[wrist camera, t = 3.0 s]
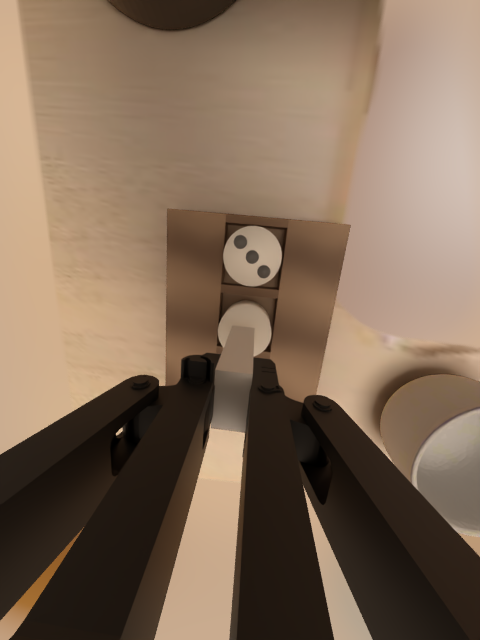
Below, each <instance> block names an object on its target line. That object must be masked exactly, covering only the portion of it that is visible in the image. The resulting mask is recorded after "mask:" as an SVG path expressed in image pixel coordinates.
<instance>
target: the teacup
mask: <svg viewBox="0 0 480 640" xmlns="http://www.w3.org/2000/svg"><path fill="white" fill-rule="evenodd" d="M380 431H381V437H382V440H383V443H384V446H385V448H386V450H387V452H388V454H389V456H390V458H391V459H392V461H393V463H394V464H395V466H396V467H397V468H398V469H399V470H400V472H401V473H402V474H403V475H404V476H405V477H406V478H407V479H408V480H409V481H410V482H411V483H412V484H413V486H414V487H415V488H416V489H417V490H418V491H419V492H420V493H421V494H422V495H423V496H424V497H425V498H426V500H427V501H428V502H429V503H430V504H431V505H432V506H433V507H434V508H435V509H436V510H437V511H438V512H439V514H440V515H441V516H442V517H443V518H444V519H445V520H446V521H447V522H448V523H449V524H450V525H451V526H452V528H453V529H454V530H455V531H456V532H458V533H461V534H464V535H468V536H475V537H480V382H478V381H475V380H473V379H469V378H466V377H462V376H457V375H449V374H437V375H429V376H424V377H421V378H417V379H415V380H413V381H410V382H409V383H407V384H405V385H403V386H402V387H400V388H399V389H398V390H397V391H396V392H395V393H394V394H393V395H392V396H391V397H390V398H389V400H388V401H387V403H386V405H385V407H384V409H383V412H382V415H381V421H380Z"/></svg>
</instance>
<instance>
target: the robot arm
mask: <svg viewBox="0 0 480 640" xmlns="http://www.w3.org/2000/svg"><path fill="white" fill-rule="evenodd" d="M108 1H109V2H110V3H111V4H112V5H114V6H115V7H116V8H117V9H118V10H120V11H121V12H122V13H124V14H125V15H127V16H128V17H130V18H132V19H134V20H136V21H138V22H140V23H143V24H145V25H148V26H152V27H156V28H162V29H182V28H187V27H192V26H195V25H198V24H201V23H203V22H206V21H208V20H210V19H211V18H213V17H215V16H216V15H218V14H220V13H221V12H222V11H224V10H225V9H226V8H227V7H229V6H230V5H231V4H232V3H233V2H234V1H235V0H108ZM254 330H255V328H251V327H242V326H233V325H232V327H231V330H230V333H229V335H228V338H227V340H226V343H225V346H224V348H223V351H222V353H221V354H215V353H205V354H203V355H189V356H186V357H184V358H183V359H181V378H180V380H179V382H178V383H177V384H176V385H170V386H159V380H158V379H157V378H155V377H153V376H149V375H138V376H134V377H131V378H129V379H127V380H125V381H123V382H121V383H120V384H118V385H116V386H115V387H113V388H111V389H110V390H108V391H106V392H105V393H103V394H101V395H100V396H98V397H96V398H95V399H93V400H91V401H90V402H88V403H86V404H85V405H83V406H81V407H80V408H78V409H76V410H74V411H73V412H71V413H69V414H68V415H66V416H64V417H63V418H61V419H59V420H58V421H56V422H54V423H53V424H51V425H49V426H48V427H46V428H44V429H43V430H41V431H40V432H38V433H36V434H34V435H32V436H31V437H29V438H27V439H26V440H25V441H23V442H21V443H19V444H17V445H16V446H14V447H12V448H11V449H9V450H7V451H6V452H4V453H2V454H1V455H0V620H1V619H2V618H3V617H4V616H5V615H6V613H7V612H8V611H9V610H10V609H11V608H12V607H13V606H14V605H15V603H16V602H17V601H18V600H19V599H20V598H21V597H22V595H24V593H25V592H26V591H27V590H28V589H29V588H30V587H31V586H32V584H33V583H34V582H35V581H36V580H37V579H38V578H39V577H40V575H41V574H42V573H43V572H44V571H45V570H46V569H47V568H48V566H49V565H50V564H51V563H52V562H53V561H54V560H55V559H56V558H57V556H58V555H59V554H60V553H61V552H62V551H63V550H64V549H65V547H66V546H67V545H68V544H69V543H70V542H71V541H72V540H73V538H74V537H75V536H76V535H77V534H78V533H79V532H80V530H82V528H83V527H84V526H85V527H84V528H83V530H82V532H81V533H80V535H79V536H78V538H77V539H76V541H75V542H74V544H73V546H72V547H71V549H70V550H69V552H68V553H67V555H66V556H65V558H64V560H63V561H62V563H61V564H60V566H59V567H58V569H57V570H56V572H55V573H54V575H53V576H52V578H51V580H50V581H49V583H48V584H47V586H46V587H45V589H44V590H43V592H42V593H41V595H40V597H39V598H38V600H37V601H36V603H35V604H34V606H33V607H32V609H31V610H30V612H29V614H28V615H27V617H26V618H25V620H24V621H23V623H22V624H21V625H20V627H19V628H18V629H17V631H16V632H15V634H14V635H13V636H12V637H11V638H10V639H9V640H154V638H155V634H156V631H157V627H158V623H159V619H160V616H161V612H162V609H163V605H164V601H165V597H166V593H167V590H168V586H169V583H170V579H171V575H172V571H173V568H174V564H175V560H176V557H177V553H178V549H179V546H180V542H181V538H182V534H183V531H184V527H185V523H186V519H187V516H188V512H189V508H190V505H191V501H192V497H193V494H194V490H195V486H196V483H197V479H198V475H199V472H200V468H201V464H202V461H203V457H204V453H205V449H206V446H207V442H208V438H209V428H210V423H211V428H214V429H222V430H229V431H237V432H244V433H245V440H244V448H243V466H242V479H241V492H240V506H239V519H238V533H237V546H236V559H235V573H234V586H233V600H232V613H231V626H230V639H229V640H334V637H333V632H332V627H331V622H330V617H329V612H328V607H327V602H326V597H325V592H324V587H323V582H322V577H321V572H320V567H319V562H318V558H317V552H316V547H315V542H314V538H313V533H312V528H311V523H310V518H309V513H308V508H307V503H306V498H305V493H304V488H305V490H306V492H307V495H308V497H309V499H310V501H311V503H312V506H313V508H314V510H315V512H316V514H317V517H318V519H319V521H320V523H321V525H322V528H323V530H324V532H325V535H326V537H327V539H328V541H329V543H330V545H331V548H332V550H333V552H334V554H335V557H336V559H337V561H338V563H339V566H340V568H341V570H342V572H343V574H344V577H345V579H346V581H347V583H348V586H349V588H350V590H351V592H352V594H353V597H354V599H355V601H356V603H357V606H358V608H359V610H360V612H361V614H362V617H363V619H364V621H365V623H366V625H367V628H368V630H369V632H370V634H371V637H372V639H373V640H480V557H479V556H478V555H477V554H476V553H475V551H474V550H473V549H472V548H471V547H470V546H469V545H468V544H467V543H466V542H465V541H464V539H463V538H461V536H460V535H459V534H458V533H457V532H456V531H455V530H454V529H453V528H452V526H451V525H450V524H449V523H448V522H447V521H446V520H445V519H444V518H443V517H442V516H441V515H440V514H439V512H438V511H437V510H436V509H435V508H434V507H433V506H432V505H431V504H430V503H429V502H428V501H427V500H426V498H425V497H424V496H423V495H422V494H421V493H420V492H419V491H418V490H417V489H416V488H415V487H414V486H413V484H412V483H411V482H410V481H409V480H408V479H407V478H406V477H405V476H404V475H403V474H402V473H401V472H400V470H399V469H398V468H397V467H396V466H395V465H394V464H393V463H392V462H391V461H390V460H389V459H388V458H387V456H386V455H385V454H384V453H383V452H382V451H381V450H380V449H379V448H378V447H377V446H376V445H375V444H374V442H373V441H372V440H371V439H370V438H369V437H368V436H367V435H366V434H365V433H364V432H363V431H362V430H361V428H360V427H359V426H358V425H357V424H356V423H355V422H354V421H353V420H352V419H351V418H350V417H349V416H348V414H347V413H346V412H345V411H344V410H343V409H342V408H341V407H340V406H339V405H338V404H337V403H336V402H334V401H333V400H331V399H329V398H327V397H325V396H321V395H309V396H307V397H305V399H304V402H303V403H302V402H299V401H295V400H293V399H290V398H289V397H287V396H285V393H284V390H283V388H282V387H281V386H280V385H279V382H278V376H277V371H276V365H275V363H274V362H273V361H272V360H271V359H264V358H255V357H253V356H254ZM122 427H123V431H122V432H121V433H120V434H119V435H117V436H116V433H117V432H118V430H119V429H121V428H122ZM303 486H304V488H303Z"/></svg>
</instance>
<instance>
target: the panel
mask: <svg viewBox="0 0 480 640" xmlns="http://www.w3.org/2000/svg"><path fill="white" fill-rule="evenodd" d="M247 226H259V227H263V228H265V229H267V230H268V231H270V232H271V233H272V234H273V235H274V236H275V237H276V238H277V240H278V242H279V244H280V247H281V251H282V260H281V265H280V268H279V270H278V272H277V273H276V275H275V276H274V277H273V278H272V279H271V280H270V281H268V282H267V283H265V284H262V285H259V286H245V285H242V284H240V283H238V282H236V281H235V280H234V279H232V277H231V276H230V275H229V274H228V272H227V270H226V268H225V265H224V260H223V253H224V248H225V245H226V243H227V241H228V239H229V238H230V236H231V235H232V234H233V233H235V232H236V231H237V230H239V229H241V228H243V227H247ZM349 231H350V225H347V224H336V223H325V222H313V221H302V220H291V219H279V218H268V217H257V216H245V215H234V214H223V213H212V212H200V211H189V210H178V209H167V296H166V386H170V385H176V384H177V383H178V382H179V380H180V378H181V359H183V358H184V357H186V356H189V355H203V354H205V353H215V354H221V353H222V351H223V346H222V345H221V343H220V341H219V338H218V326H219V323H220V321H221V319H222V317H223V316H224V314H225V312H226V311H227V309H228V308H229V307H230V306H231V305H233V304H234V303H236V302H239V301H243V300H249V301H253V302H256V303H258V304H260V305H261V306H262V307H263V308H264V309H265V310H266V312H267V314H268V316H269V320H270V326H271V339H270V342H269V344H268V346H267V347H266V349H265V350H264V351H263V352H261V353H260V354H258V355H256V356H254V357H255V358H264V359H271V360H272V361H273V362H274V363H275V365H276V371H277V376H278V382H279V385H280V386H281V387H282V388H283V390H284V393H285V396H287V397H289V398H290V399H293V400H295V401H299V402H302V403H303V402H304V399H305V397H307V396H309V395H316V392H317V387H318V382H319V378H320V373H321V368H322V363H323V358H324V353H325V348H326V343H327V338H328V334H329V329H330V324H331V319H332V314H333V309H334V304H335V299H336V294H337V290H338V285H339V280H340V275H341V270H342V265H343V260H344V255H345V250H346V245H347V241H348V236H349Z"/></svg>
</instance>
